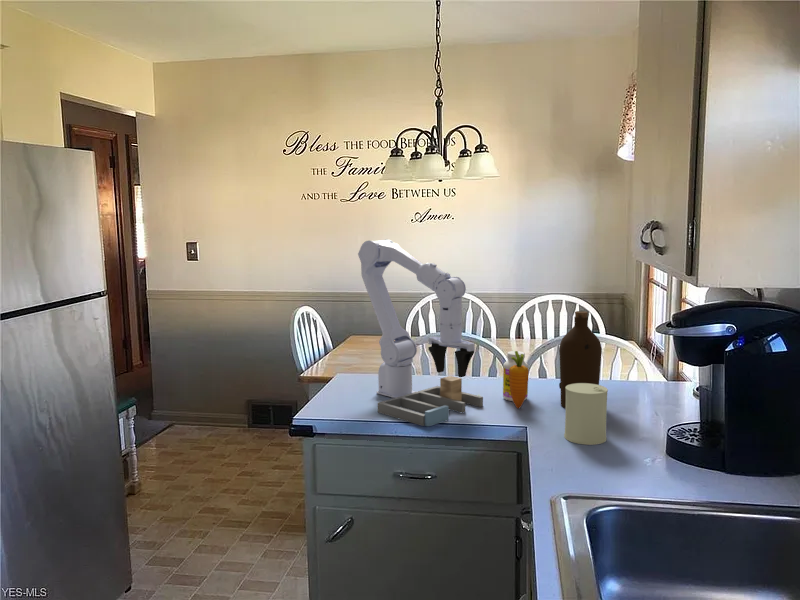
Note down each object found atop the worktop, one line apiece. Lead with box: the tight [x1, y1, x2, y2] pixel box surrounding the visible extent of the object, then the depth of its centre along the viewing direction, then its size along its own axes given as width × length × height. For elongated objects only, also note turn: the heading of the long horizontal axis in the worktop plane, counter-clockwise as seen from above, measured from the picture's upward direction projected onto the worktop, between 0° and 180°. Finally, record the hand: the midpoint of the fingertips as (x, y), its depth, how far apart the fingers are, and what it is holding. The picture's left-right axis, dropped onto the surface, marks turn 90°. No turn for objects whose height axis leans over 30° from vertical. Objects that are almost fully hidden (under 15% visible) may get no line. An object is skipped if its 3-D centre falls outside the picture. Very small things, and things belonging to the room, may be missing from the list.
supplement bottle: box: [502, 350, 529, 402], centre depth 179 cm, size 7×7×13 cm
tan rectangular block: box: [439, 375, 463, 402], centre depth 175 cm, size 4×4×7 cm
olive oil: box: [558, 310, 603, 409], centre depth 171 cm, size 11×11×25 cm
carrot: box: [509, 350, 530, 410], centre depth 170 cm, size 5×5×15 cm
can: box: [563, 383, 609, 446], centre depth 147 cm, size 9×9×12 cm
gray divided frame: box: [377, 385, 484, 427], centre depth 171 cm, size 17×23×4 cm
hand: (451, 374), depth 175 cm, fingers open, 7 cm apart
